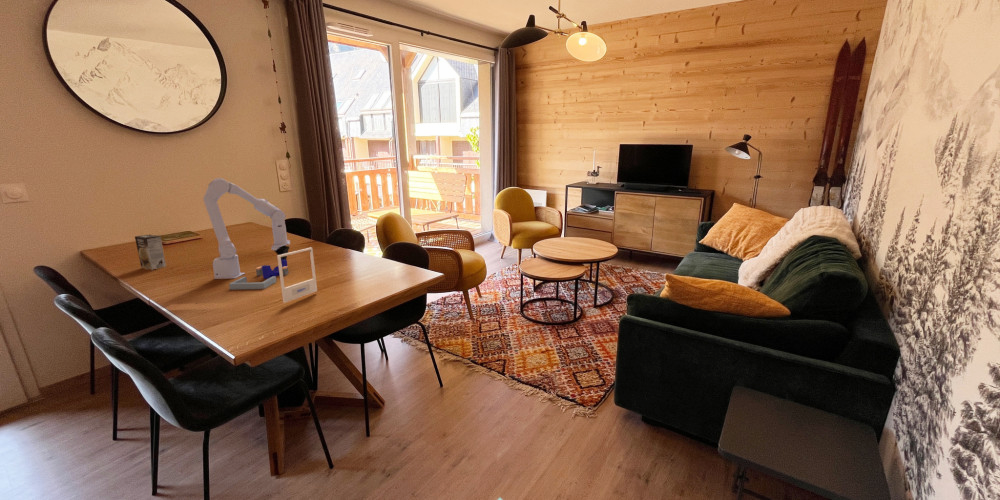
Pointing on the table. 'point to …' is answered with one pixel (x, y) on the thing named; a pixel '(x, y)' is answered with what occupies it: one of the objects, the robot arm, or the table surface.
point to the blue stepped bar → (268, 271)
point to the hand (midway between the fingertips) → (283, 261)
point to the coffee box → (150, 251)
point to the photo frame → (299, 288)
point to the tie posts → (260, 272)
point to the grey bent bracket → (251, 284)
